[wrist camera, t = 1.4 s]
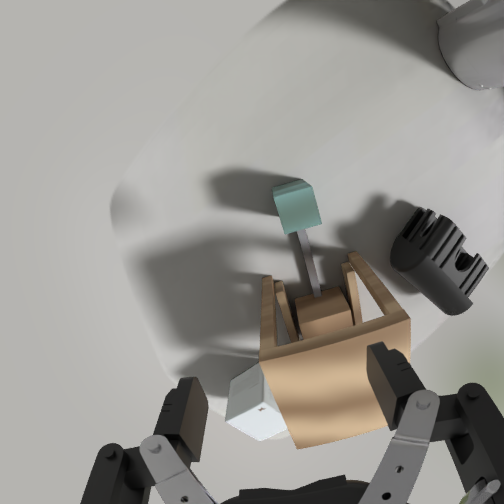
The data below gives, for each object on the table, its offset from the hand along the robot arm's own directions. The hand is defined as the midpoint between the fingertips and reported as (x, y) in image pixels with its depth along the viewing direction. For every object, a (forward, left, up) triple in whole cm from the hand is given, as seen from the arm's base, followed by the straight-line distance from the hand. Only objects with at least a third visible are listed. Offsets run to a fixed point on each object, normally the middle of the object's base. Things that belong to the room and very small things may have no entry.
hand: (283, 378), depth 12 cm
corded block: (+2, +3, -18) cm, 18 cm away
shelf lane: (+8, +3, -18) cm, 20 cm away
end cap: (+5, +17, -18) cm, 25 cm away
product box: (+17, -6, -18) cm, 26 cm away
